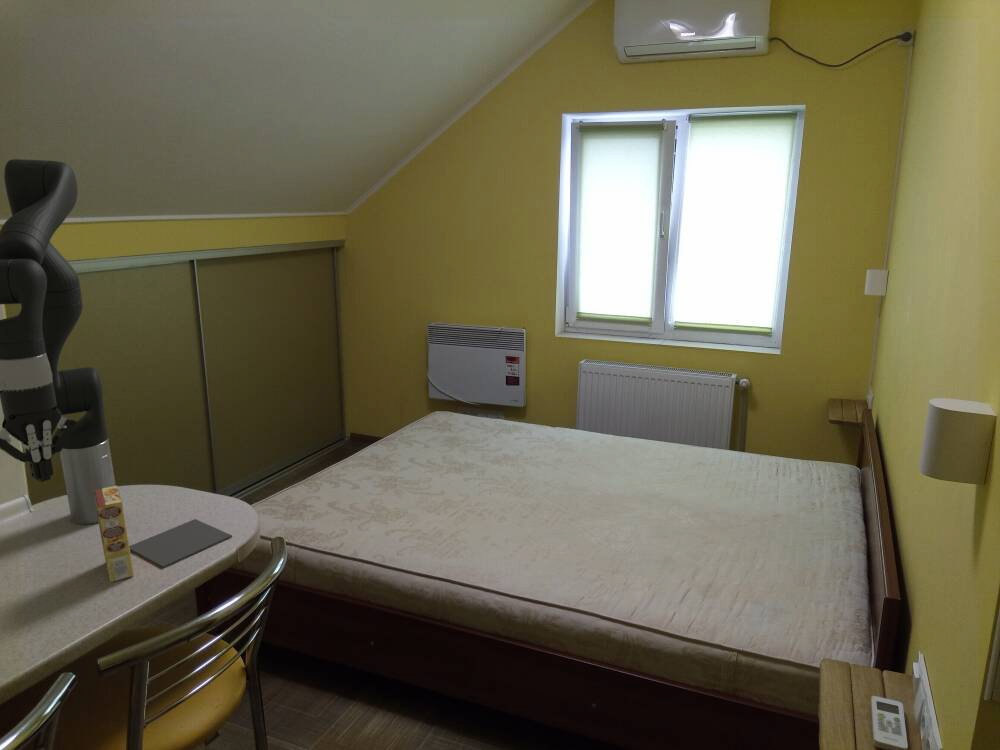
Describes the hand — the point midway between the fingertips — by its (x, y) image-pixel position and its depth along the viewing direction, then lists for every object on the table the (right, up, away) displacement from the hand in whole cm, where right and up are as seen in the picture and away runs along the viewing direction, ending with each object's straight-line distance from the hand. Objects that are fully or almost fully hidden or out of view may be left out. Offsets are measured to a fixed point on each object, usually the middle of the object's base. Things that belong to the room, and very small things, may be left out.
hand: (43, 479), depth 119 cm
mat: (+13, -16, +24) cm, 31 cm away
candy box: (+6, -19, +14) cm, 24 cm away
